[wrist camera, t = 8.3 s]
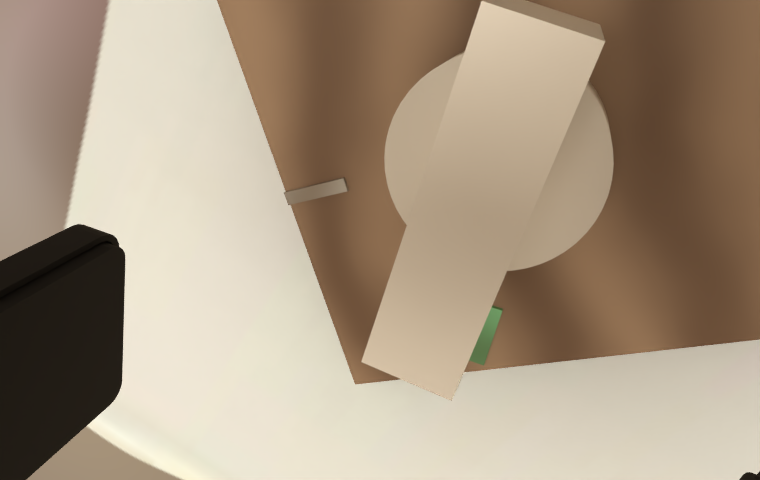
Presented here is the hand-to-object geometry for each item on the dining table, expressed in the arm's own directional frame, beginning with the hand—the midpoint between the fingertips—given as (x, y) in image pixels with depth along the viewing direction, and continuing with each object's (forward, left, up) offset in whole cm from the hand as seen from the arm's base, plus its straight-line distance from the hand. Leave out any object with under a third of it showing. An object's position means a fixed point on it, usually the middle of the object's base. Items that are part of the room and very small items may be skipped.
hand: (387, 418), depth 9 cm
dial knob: (+2, +2, -18) cm, 18 cm away
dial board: (0, 0, -20) cm, 20 cm away
